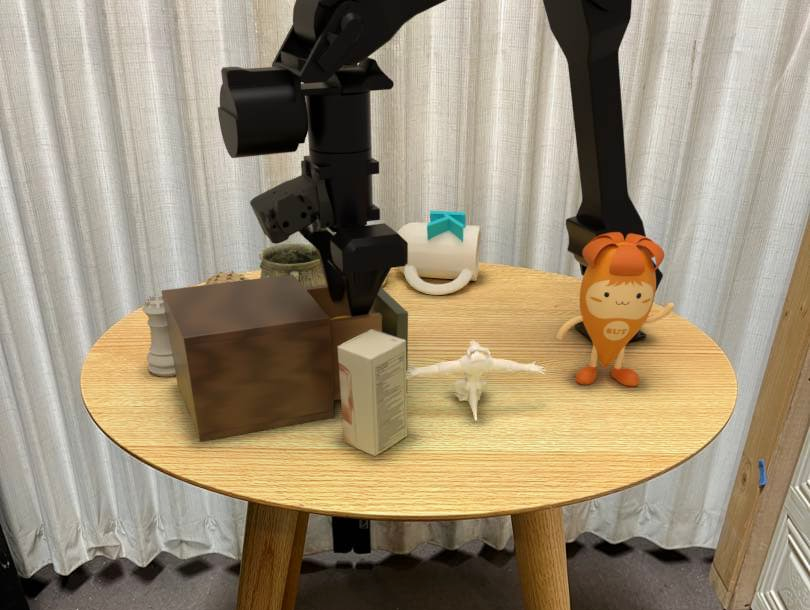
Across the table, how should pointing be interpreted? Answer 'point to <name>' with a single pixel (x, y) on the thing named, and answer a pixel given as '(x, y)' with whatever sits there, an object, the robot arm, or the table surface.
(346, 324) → the drawer
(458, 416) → the table surface
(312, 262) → the vessel
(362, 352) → the printed medicine carton
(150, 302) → the rook chess piece
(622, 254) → the toy figure
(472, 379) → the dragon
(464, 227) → the mug
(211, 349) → the cabinet
